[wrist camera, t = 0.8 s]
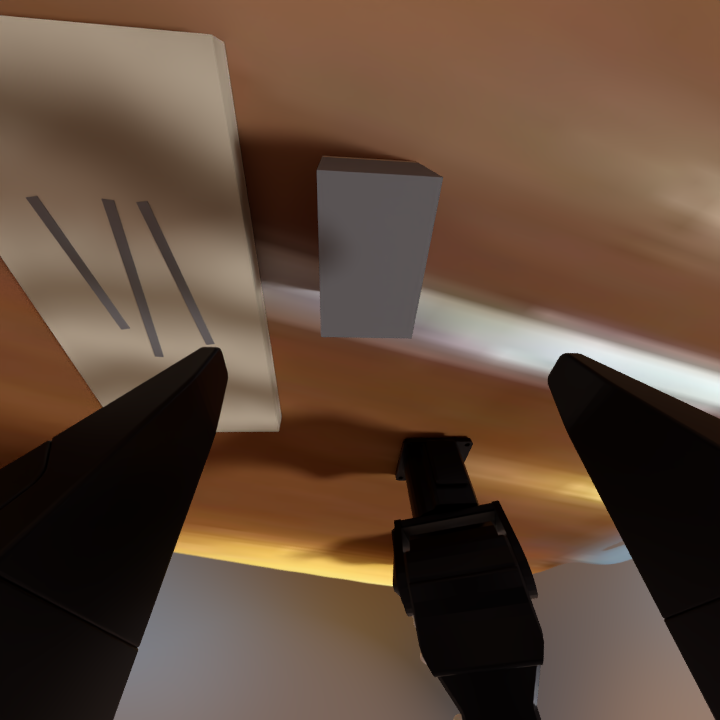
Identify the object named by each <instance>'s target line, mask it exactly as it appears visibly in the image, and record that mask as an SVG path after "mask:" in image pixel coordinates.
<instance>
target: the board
mask: <svg viewBox="0 0 720 720" xmlns="http://www.w3.org/2000/svg"><path fill="white" fill-rule="evenodd" d="M0 256H1V258H2V259H3V261H4V262H5V263H6V265H7V266H8V268H9V269H10V271H11V272H12V274H13V275H14V277H15V278H16V280H17V281H18V283H19V284H20V286H21V287H22V289H23V290H24V291H25V293H26V294H27V296H28V297H29V299H30V300H31V302H32V303H33V305H34V306H35V308H36V309H37V311H38V312H39V314H40V315H41V317H42V318H43V319H44V321H45V322H46V324H47V325H48V327H49V328H50V330H51V331H52V333H53V334H54V336H55V337H56V339H57V340H58V342H59V343H60V345H61V346H62V347H63V349H64V350H65V352H66V353H67V355H68V356H69V358H70V359H71V361H72V362H73V364H74V365H75V367H76V368H77V370H78V371H79V373H80V374H81V375H82V377H83V378H84V380H85V381H86V383H87V384H88V386H89V387H90V389H91V390H92V392H93V393H94V395H95V396H96V398H97V399H98V401H99V402H100V403H101V405H102V406H103V407H104V406H106V405H107V404H109V403H111V402H112V401H114V400H116V399H117V398H119V397H121V396H122V395H124V394H125V393H127V392H129V391H130V390H132V389H134V388H135V387H137V386H139V385H140V384H142V383H144V382H145V381H147V380H148V379H150V378H152V377H153V376H155V375H157V374H158V373H160V372H162V371H163V370H165V369H167V368H168V367H170V366H171V365H173V364H175V363H176V362H178V361H180V360H181V359H183V358H185V357H186V356H188V355H190V354H191V353H193V352H194V351H196V350H198V349H199V348H201V347H218V348H220V349H221V351H222V353H223V357H224V360H225V364H226V368H227V371H228V382H227V387H226V391H225V396H224V400H223V405H222V409H221V413H220V418H219V422H218V427H217V430H216V432H279V428H280V423H281V418H282V416H281V410H280V403H279V397H278V390H277V383H276V377H275V370H274V364H273V357H272V351H271V344H270V338H269V331H268V325H267V318H266V312H265V305H264V299H263V292H262V286H261V279H260V273H259V266H258V260H257V253H256V247H255V240H254V234H253V227H252V221H251V214H250V208H249V201H248V195H247V188H246V182H245V175H244V169H243V162H242V156H241V149H240V142H239V136H238V129H237V123H236V116H235V110H234V103H233V97H232V90H231V84H230V77H229V71H228V64H227V58H226V51H225V45H224V42H223V41H221V40H219V39H218V38H216V37H215V36H213V35H211V34H200V33H189V32H178V31H167V30H155V29H144V28H133V27H122V26H111V25H100V24H89V23H78V22H67V21H56V20H45V19H34V18H23V17H12V16H0Z"/></svg>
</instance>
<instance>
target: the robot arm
mask: <svg viewBox="0 0 720 720" xmlns="http://www.w3.org/2000/svg"><path fill="white" fill-rule="evenodd" d="M227 382H228V371H227V368H226V364H225V360H224V357H223V353H222V351H221V349H220V348H218V347H201V348H199V349H198V350H196V351H194V352H193V353H191V354H190V355H188V356H186V357H185V358H183V359H181V360H180V361H178V362H176V363H175V364H173V365H171V366H170V367H168V368H167V369H165V370H163V371H162V372H160V373H158V374H157V375H155V376H153V377H152V378H150V379H148V380H147V381H145V382H144V383H142V384H140V385H139V386H137V387H135V388H134V389H132V390H130V391H129V392H127V393H125V394H124V395H122V396H121V397H119V398H117V399H116V400H114V401H112V402H111V403H109V404H107V405H106V406H104V407H102V408H101V409H99V410H98V411H96V412H94V413H93V414H91V415H89V416H88V417H86V418H84V419H83V420H81V421H79V422H78V423H76V424H75V425H73V426H71V427H70V428H68V429H66V430H65V431H63V432H61V433H60V434H58V435H56V436H55V437H53V438H52V441H46V442H45V443H43V444H42V445H40V446H38V447H37V448H35V449H33V450H32V451H30V452H28V453H27V454H25V455H24V456H22V457H20V458H18V459H17V460H15V461H13V462H12V463H10V464H8V465H7V466H5V467H3V468H2V469H0V720H113V719H114V716H115V713H116V710H117V708H118V705H119V702H120V699H121V696H122V694H123V691H124V688H125V685H126V683H127V680H128V677H129V674H130V671H131V668H132V666H133V663H134V660H135V657H136V655H137V652H138V648H137V647H139V645H140V643H141V640H142V637H143V635H144V632H145V629H146V626H147V624H148V621H149V618H150V615H151V612H152V610H153V607H154V604H155V601H156V599H157V596H158V593H159V590H160V587H161V585H162V582H163V579H164V576H165V573H166V571H167V568H168V565H169V562H170V559H171V557H172V554H173V551H174V549H175V546H176V543H177V540H178V538H179V535H180V532H181V529H182V526H183V524H184V521H185V518H186V515H187V513H188V510H189V507H190V504H191V501H192V499H193V496H194V493H195V490H196V488H197V485H198V482H199V479H200V476H201V474H202V471H203V468H204V465H205V463H206V460H207V457H208V454H209V451H210V449H211V446H212V443H213V440H214V437H215V434H216V430H217V427H218V422H219V418H220V413H221V409H222V405H223V400H224V396H225V391H226V387H227ZM548 385H549V388H550V390H551V393H552V396H553V398H554V401H555V403H556V406H557V408H558V411H559V413H560V416H561V418H562V421H563V424H564V426H565V428H566V431H567V433H568V435H569V437H570V439H571V441H572V443H573V445H574V447H575V449H576V451H577V453H578V455H579V457H580V458H581V460H582V462H583V464H584V466H585V468H586V470H587V472H588V474H589V476H590V478H591V480H592V482H593V484H594V485H595V487H596V489H597V491H598V493H599V495H600V497H601V499H602V501H603V503H604V505H605V507H606V509H607V511H608V513H609V514H610V516H611V518H612V520H613V522H614V524H615V526H616V528H617V530H618V532H619V534H620V536H621V538H622V540H623V541H624V543H625V545H626V547H627V549H628V551H629V553H630V555H631V557H632V559H633V561H634V563H635V564H636V567H637V568H638V570H639V572H640V574H641V576H642V578H643V580H644V582H645V584H646V586H647V588H648V590H649V592H650V594H651V596H652V597H653V599H654V601H655V603H656V605H657V607H658V609H659V611H660V613H661V615H662V617H663V618H665V619H664V621H665V623H666V625H667V627H668V629H669V631H670V633H671V635H672V637H673V639H674V641H675V642H676V644H677V646H678V648H679V650H680V652H681V654H682V656H683V658H684V660H685V662H686V664H687V666H688V668H689V669H690V672H691V673H692V675H693V677H694V679H695V681H696V683H697V685H698V687H699V689H700V691H701V693H702V695H703V697H704V699H705V701H706V703H707V704H708V706H709V708H710V710H711V712H712V714H713V716H714V718H715V720H720V419H719V418H717V417H715V416H712V415H710V414H708V413H706V412H704V411H702V410H700V409H697V408H695V407H693V406H691V405H689V404H687V403H685V402H683V401H680V400H678V399H676V398H674V397H672V396H670V395H668V394H665V393H663V392H661V391H659V390H657V389H655V388H653V387H650V386H648V385H646V384H644V383H642V382H640V381H638V380H635V379H633V378H631V377H629V376H627V375H625V374H623V373H621V372H618V371H616V370H614V369H612V368H610V367H608V366H606V365H603V364H601V363H599V362H597V361H595V360H593V359H591V358H588V357H586V356H584V355H582V354H578V353H565V354H562V355H561V356H560V357H559V359H558V360H557V362H556V364H555V365H554V367H553V369H552V371H551V372H550V374H549V376H548ZM472 445H473V443H472V441H471V439H470V438H409V439H405V440H404V441H403V444H402V448H401V453H400V457H399V461H398V465H397V470H396V474H395V476H396V480H399V481H403V480H406V483H407V488H408V494H409V499H410V505H411V510H412V516H413V518H411V519H405V520H401V519H399V520H394V526H395V528H394V529H393V530H392V539H393V548H394V565H393V588H394V591H395V592H396V593H397V594H398V595H399V596H400V597H401V600H402V603H403V605H404V608H405V611H406V614H407V615H408V616H414V621H415V626H416V631H417V636H418V641H419V646H420V649H421V653H422V656H423V658H424V660H425V662H426V664H427V666H428V667H429V669H430V671H431V673H432V674H433V676H434V677H438V679H439V680H440V681H441V683H442V685H443V686H444V688H445V690H446V691H447V693H448V694H449V696H450V697H451V699H452V700H453V702H454V704H455V705H456V706H457V708H458V710H459V711H460V713H461V716H462V720H541V718H540V715H539V712H538V709H537V698H538V686H539V676H540V665H542V664H543V657H544V656H543V655H544V640H543V633H542V629H541V627H540V624H539V621H538V618H537V615H536V613H535V610H534V607H533V604H532V601H531V599H534V598H537V597H538V594H537V589H536V585H535V582H534V578H533V575H532V572H531V570H530V567H529V564H528V562H527V559H526V557H525V554H524V552H523V550H522V548H521V546H520V544H519V541H518V539H517V537H516V535H515V533H514V531H513V529H512V527H511V525H510V523H509V521H508V519H507V517H506V515H505V513H504V511H503V509H502V507H501V505H500V503H499V501H493V502H492V503H489V504H483V505H479V503H478V500H477V498H476V495H475V492H474V489H473V486H472V484H471V481H470V478H469V475H468V473H467V470H466V467H465V464H464V462H465V460H466V458H467V456H468V453H469V451H470V449H471V447H472Z"/></svg>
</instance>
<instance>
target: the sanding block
mask: <svg viewBox="0 0 720 720" xmlns="http://www.w3.org/2000/svg"><path fill="white" fill-rule="evenodd" d="M442 180H443V177H442V176H440V175H438V174H436V173H435V172H433V171H431V170H430V169H428V168H426V167H425V166H423V165H421V164H420V163H418V162H416V161H400V160H384V159H368V158H352V157H336V156H322V158H321V161H320V163H319V166H318V168H317V200H318V238H319V276H320V313H321V337H360V338H412V333H413V328H414V323H415V318H416V313H417V308H418V303H419V297H420V292H421V287H422V282H423V277H424V272H425V267H426V262H427V257H428V251H429V246H430V241H431V236H432V231H433V226H434V221H435V216H436V211H437V205H438V200H439V195H440V190H441V185H442Z"/></svg>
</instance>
